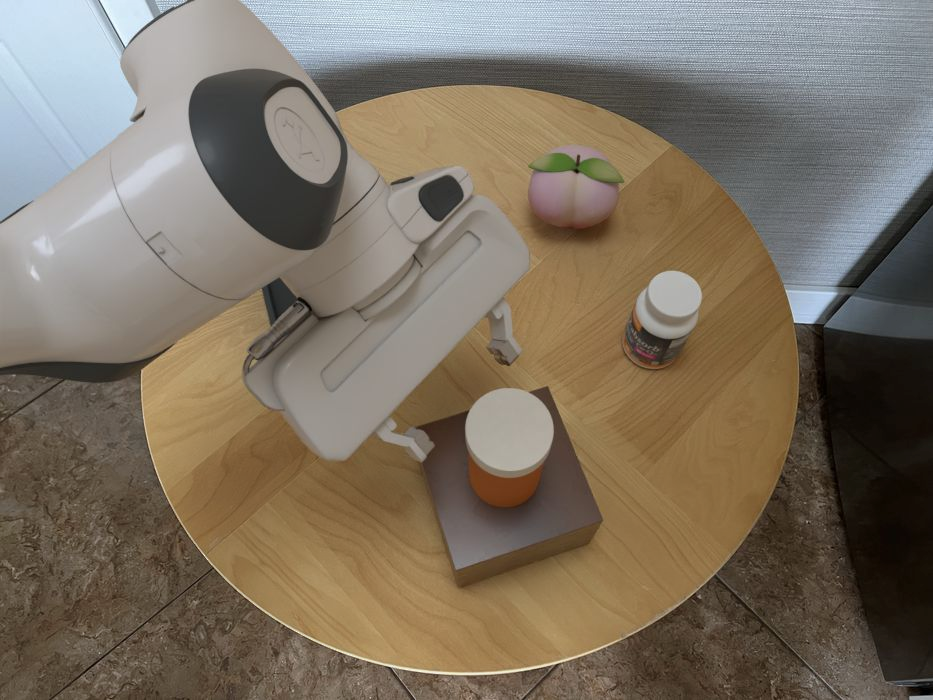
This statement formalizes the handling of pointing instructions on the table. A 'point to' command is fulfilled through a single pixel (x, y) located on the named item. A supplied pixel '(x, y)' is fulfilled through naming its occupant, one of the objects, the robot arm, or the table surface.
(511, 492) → the amber pill bottle
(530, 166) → the decorative fruit
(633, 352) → the pill bottle
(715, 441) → the table surface
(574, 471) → the walnut block
